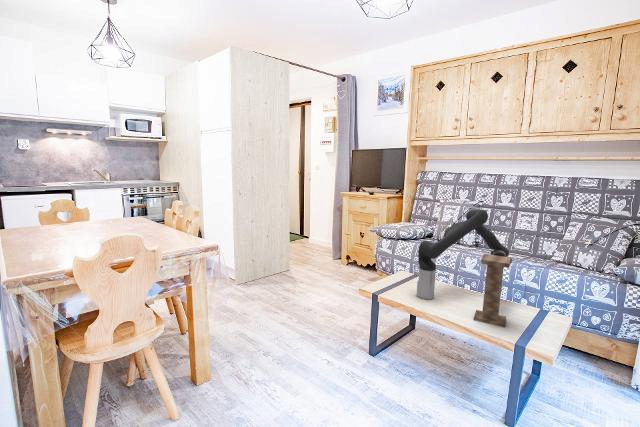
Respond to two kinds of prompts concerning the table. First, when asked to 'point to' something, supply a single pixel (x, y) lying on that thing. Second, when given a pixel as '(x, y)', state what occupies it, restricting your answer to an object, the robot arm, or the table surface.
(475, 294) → the table surface
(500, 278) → the tall stand
